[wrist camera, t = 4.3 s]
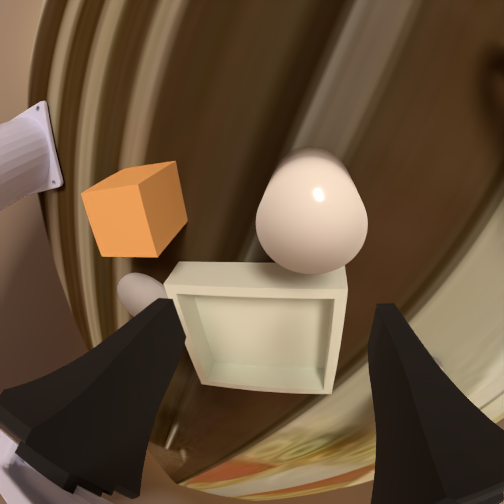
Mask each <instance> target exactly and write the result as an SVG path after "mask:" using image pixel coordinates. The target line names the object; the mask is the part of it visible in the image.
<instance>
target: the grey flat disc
mask: <svg viewBox="0 0 504 504" xmlns="http://www.w3.org/2000/svg"><path fill="white" fill-rule="evenodd" d="M117 292H118V297H119V299H120V301H121V303H122V305H123V306H124V307H125V309H126V310H127V311H128V312H129V313H130V314H131V315H133V316H134V317H135V316H136V315H137V314H138V313H140V312H141V311H142V310H143V309H145V308H146V307H147V306H148V305H150V304H151V303H152V302H154V301H155V300H156V299H158V298H168V296H167V293H166V290H165V287H164V286H163V285H162V284H161V283H160V282H158V281H157V280H155V279H154V278H152V277H150V276H148V275H145V274H141V273H130V274H127V275H125V276H124V277H123V278H122V279H121V280H120V282H119V284H118V287H117Z"/></svg>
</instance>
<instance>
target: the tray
mask: <svg viewBox="0 0 504 504" xmlns="http://www.w3.org/2000/svg"><path fill="white" fill-rule="evenodd" d="M164 287H165V290H166V293H167V296H168V299H173V301H174V304H175V307H176V310H177V313H178V316H179V318H180V321H181V324H182V327H183V329H184V332H185V335H186V340H185V345H186V347H187V350H188V352H189V355H190V357H191V360H192V362H193V365H194V367H195V370H196V372H197V374H198V377H199V379H200V381H201V384H205V385H212V386H219V387H227V388H235V389H244V390H254V391H266V392H281V393H302V394H331V393H332V388H333V383H334V378H335V373H336V367H337V362H338V356H339V350H340V344H341V337H342V331H343V324H344V317H345V309H346V301H347V293H348V286H347V279H346V272H345V265H344V266H342V267H340V268H339V269H336V270H334V271H331V272H327V273H323V274H302V273H297V272H294V271H291V270H288V269H286V268H284V267H282V266H281V265H279V264H278V263H252V262H178V264H177V265H176V267H175V268H174V269H173V271H172V272H171V274H170V275H169V277H168V278H167V280H166V281H165V283H164Z"/></svg>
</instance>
